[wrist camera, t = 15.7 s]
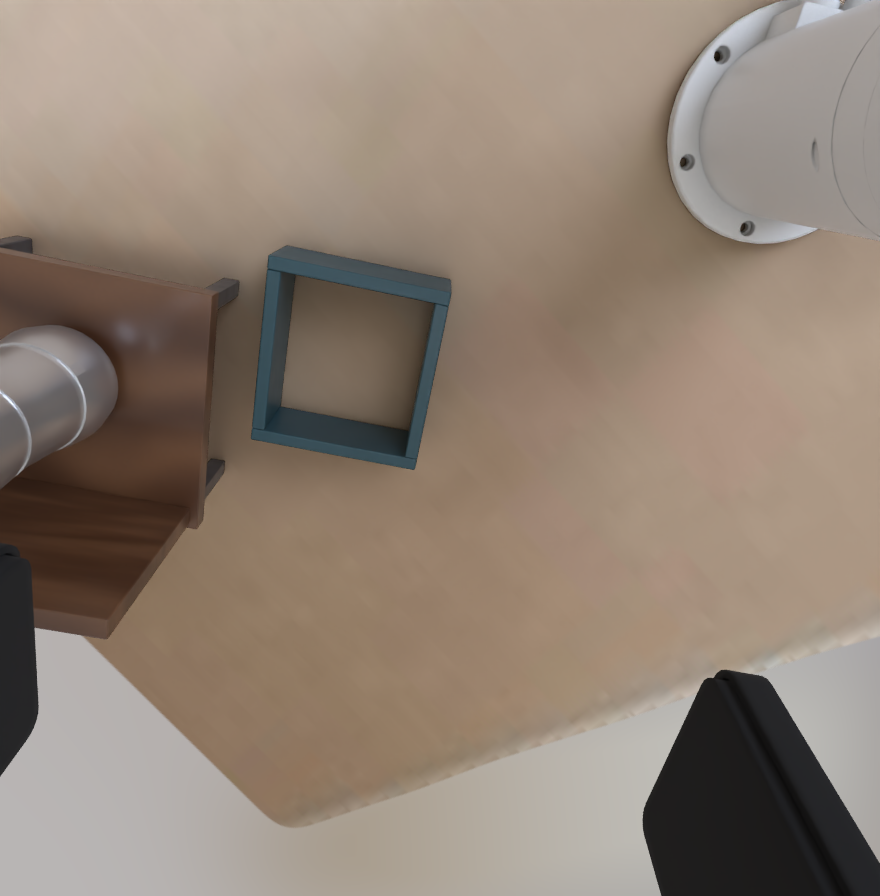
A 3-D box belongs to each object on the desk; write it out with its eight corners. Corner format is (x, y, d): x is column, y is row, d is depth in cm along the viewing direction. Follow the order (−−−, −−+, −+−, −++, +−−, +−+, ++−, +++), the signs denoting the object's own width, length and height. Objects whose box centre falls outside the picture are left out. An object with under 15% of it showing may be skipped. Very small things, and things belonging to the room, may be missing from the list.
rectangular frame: (286, 244, 42) (268, 254, 38) (451, 279, 43) (451, 292, 39) (268, 414, 47) (250, 439, 42) (417, 443, 47) (414, 470, 43)
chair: (7, 225, 42) (-281, 271, 25) (247, 274, 43) (121, 349, 26) (19, 441, 48) (-208, 593, 31) (230, 480, 49) (117, 647, 32)
